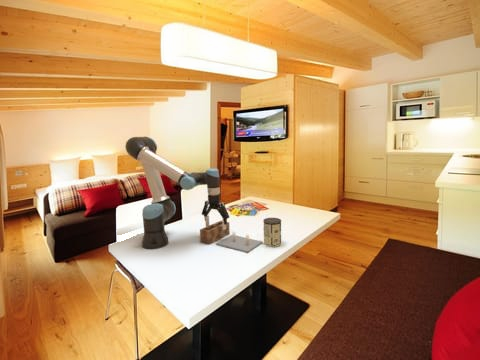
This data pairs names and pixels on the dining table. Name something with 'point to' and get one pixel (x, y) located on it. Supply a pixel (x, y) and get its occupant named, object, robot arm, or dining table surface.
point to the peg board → (239, 243)
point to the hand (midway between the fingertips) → (215, 227)
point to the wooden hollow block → (213, 233)
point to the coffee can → (272, 232)
